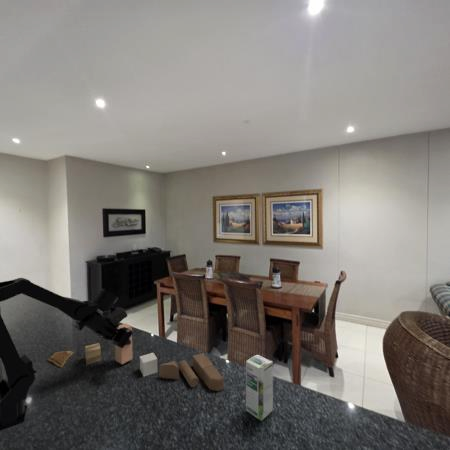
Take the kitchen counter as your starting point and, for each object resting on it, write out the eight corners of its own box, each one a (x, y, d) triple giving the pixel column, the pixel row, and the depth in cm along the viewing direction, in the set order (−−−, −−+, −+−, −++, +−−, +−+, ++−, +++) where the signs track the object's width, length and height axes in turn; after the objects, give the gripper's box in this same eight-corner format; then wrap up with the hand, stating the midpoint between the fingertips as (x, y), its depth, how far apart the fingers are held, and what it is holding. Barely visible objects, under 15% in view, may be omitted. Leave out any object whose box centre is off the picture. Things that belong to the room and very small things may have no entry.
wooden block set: (202, 348, 97) (224, 373, 81) (202, 363, 97) (224, 390, 81) (158, 361, 88) (173, 391, 73) (158, 376, 88) (174, 410, 73)
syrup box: (245, 410, 72) (244, 361, 71) (258, 400, 76) (257, 353, 75) (261, 422, 67) (260, 369, 67) (273, 410, 72) (273, 360, 71)
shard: (61, 369, 94) (61, 364, 94) (38, 372, 92) (38, 367, 92) (73, 354, 104) (73, 350, 104) (53, 356, 103) (53, 351, 103)
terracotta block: (121, 364, 94) (121, 330, 94) (115, 360, 97) (114, 327, 96) (132, 358, 98) (131, 326, 97) (126, 355, 100) (125, 323, 100)
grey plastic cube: (157, 372, 91) (157, 358, 90) (143, 377, 88) (143, 363, 88) (153, 365, 95) (153, 352, 95) (140, 369, 92) (139, 356, 92)
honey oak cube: (100, 360, 99) (100, 348, 98) (86, 364, 96) (86, 351, 96) (99, 354, 103) (99, 342, 103) (85, 358, 100) (85, 346, 100)
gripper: (127, 308, 88) (153, 327, 97) (100, 298, 99) (126, 317, 108) (105, 338, 82) (136, 356, 91) (79, 325, 93) (109, 342, 102)
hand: (126, 341), depth 98 cm, fingers closed on terracotta block, 4 cm apart
